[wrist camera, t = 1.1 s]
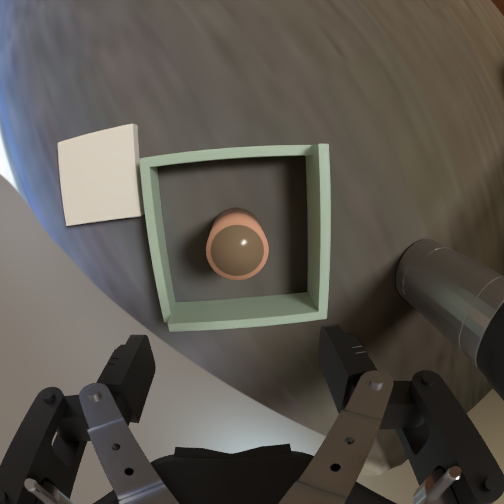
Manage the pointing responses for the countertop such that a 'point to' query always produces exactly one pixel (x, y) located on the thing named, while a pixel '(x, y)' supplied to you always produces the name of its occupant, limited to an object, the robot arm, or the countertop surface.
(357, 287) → the countertop surface
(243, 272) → the terracotta pot
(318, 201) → the frame
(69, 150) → the cream tile
